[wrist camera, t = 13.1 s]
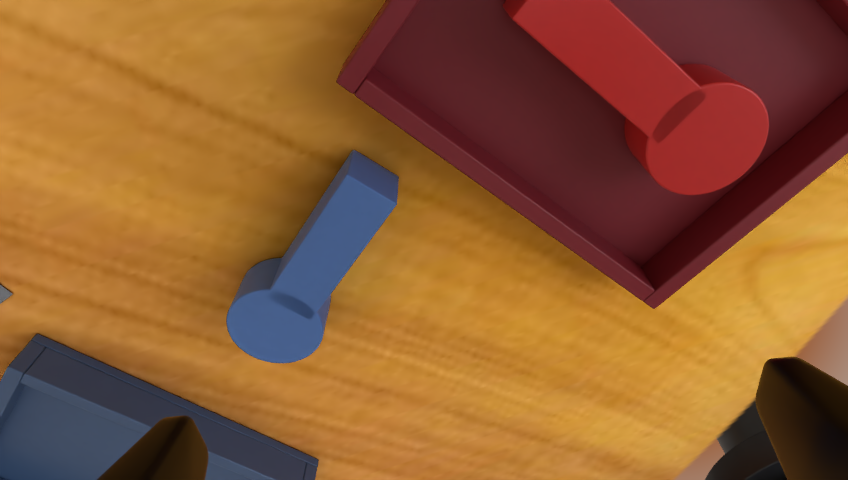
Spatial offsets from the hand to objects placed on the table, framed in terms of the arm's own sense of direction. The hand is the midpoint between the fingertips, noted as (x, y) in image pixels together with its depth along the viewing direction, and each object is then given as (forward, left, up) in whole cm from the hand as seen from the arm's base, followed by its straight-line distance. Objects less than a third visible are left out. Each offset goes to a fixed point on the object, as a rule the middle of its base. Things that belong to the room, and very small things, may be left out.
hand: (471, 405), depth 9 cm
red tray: (-3, -5, -11) cm, 12 cm away
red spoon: (-3, -5, -11) cm, 12 cm away
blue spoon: (+1, +6, -11) cm, 13 cm away
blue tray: (+1, +21, -11) cm, 24 cm away
